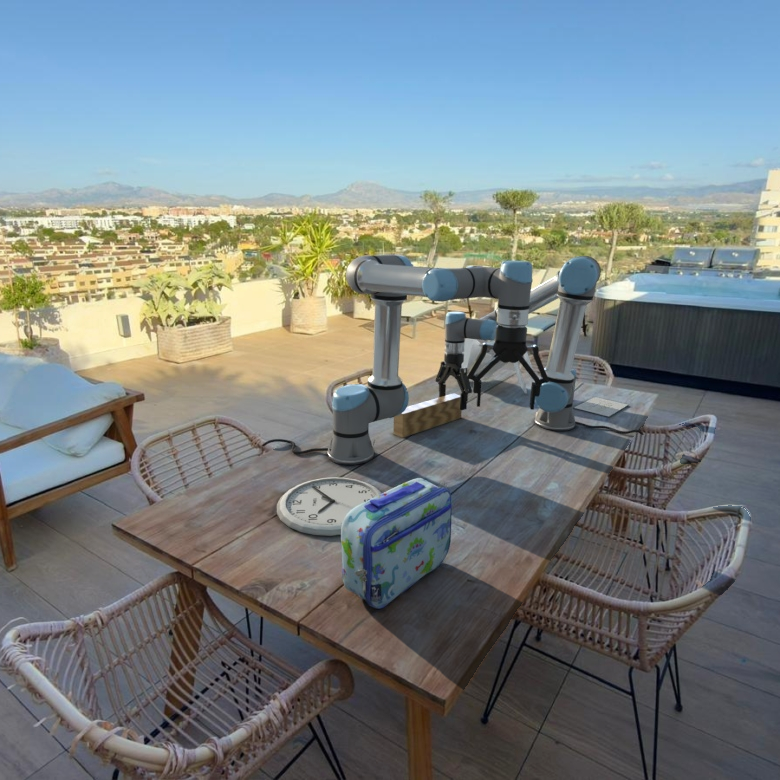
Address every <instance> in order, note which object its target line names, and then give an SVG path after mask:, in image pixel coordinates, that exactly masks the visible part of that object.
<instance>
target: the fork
mask: <svg viewBox="0 0 780 780" xmlns="http://www.w3.org/2000/svg"><path fill="white" fill-rule="evenodd" d="M437 487H439V488H442V487H444V488H447V487H448V484H446V483H445V482H444V483H443V484H441V482H439V484H438V486H437Z"/></svg>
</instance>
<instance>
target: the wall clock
mask: <svg viewBox="0 0 780 780" xmlns="http://www.w3.org/2000/svg"><path fill="white" fill-rule="evenodd" d="M382 493H383V492H382V491H381V490H380V489H379V488H377V487H376V486H374V485H372V484H371V483H369V482H365V481H362V480H359V479H355V478H349V477H338V476H337V477H335V476H333V477H332V476H331V477H322V478H317V479H312V480H307V481H305V482H302V483H299V484H297V485H295V486H293V487H292V488H290V489H288V490H287V491H286V492H285V493H284V494H283V495H281V496H280V498H279V499H278V502H277V503H276V515H277V517H278V518H279V520H280V521H281V522H282V523H283V524H285V525H286V526H287V527H288V528H290V529H293V530H295V531H297V532H299V533H303V534H308V535H312V536H327V537H328V536H329V537H331V536H332V537H333V536H341V528H342V523H343V520H344V518H345V517H346V515H347V514H348V512H349V511H350V510H351V509H353V508H354V507H356V506H358V505H360V504H362V503H364V502H366V501H368V500H370V499H372V498H374V497H376V496H378V495H380V494H382Z"/></svg>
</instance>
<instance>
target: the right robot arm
mask: <svg viewBox="0 0 780 780" xmlns="http://www.w3.org/2000/svg"><path fill="white" fill-rule="evenodd" d="M601 274H602V270H601V266H600V263H599V262H598V261H597V260H596V259H595V258H594V257H592V256H589V255H579V256H574V257H572V258H570V259H569V260H567V261H566V262H565V263H564V264H563V265H562V266H561V269H560V270H558V271H557V272H556V274H555V276H553V277H552V278H550V279H548V280H546V281H545V282H543V283H540V284H539V285H538V286H536V287H534V288H531V293H530V301H529V314H528V315H530V314H532V313H534V312H536V311H537V310H539V309H542V308H543V307H545V306H546V305H549V304H551V303H552V302H554V301H556V300H559V306H558V310H557V314H556V315H557V316H556V320H555V326H554V330H553V334H552V339H551V343H550V348H549V352H548V357H547V361H546V366H545V367H544V369H545V372H546V374H547V377H548V379H549V382H548V383H542V384H541V387H540V395H539V397H537V396H535V405H536V406H537V407H538V410H537V411H536V413H535V417H534V424H535V425H536V426H537V427H539V428H542V429H544V430H549V431H556V432H567V431H572V430H574V429H575V428H576V425H577V426H578V425H579V426H581V427H584V428H588V429H606V430H609V431H612V432H614V433H617V434H622V435H628V434H633V433H638V434H640V435H641V436H644V435H645V434H644V432H643V431H641V430H640V429H631V430H619V429H616V428H614V427H611V426H607V425H591V424H586V423H583V422H579V421H576V418H575V417H576V416H575V413H574V407H573V405H574V397H575V389H576V382H577V379H578V375H577V370H576V369H575V368H573V365H574V361H575V356H576V352H577V347H578V343H579V339H580V335H581V331H582V326H583V323H584V319H585V318H584V317H585V313H586V309H587V305H588V304H590V303H591V302H592V301H593V300H594V296H595V291H596V288H597V283H598V282H599V280H600V278H601ZM497 311H498V308H496V309H495V310H493V311H491V312H490V313H488V314H486V315H484V316H482V317H480V318H469V317H467V316H466V312H464V311H463V312H462V311H449V312H447V313H446V314H445V322H444V355H443V361H440V365H439V369H438V372H437V374H436V377H435V380H434V381H435V382H436V383H438V398H439V397H443V396H446V393H447V392H446V390H447V384H446V382H447V380H448V379H449V378H450V376H451V377H453V378H454V379H455V380H456V383H457V385H458V387H459V389H460V391H461V392H460V394H459V395H460V410H462V411H463V410H464V411H465V410H467V408H468V400H469V394H472V393H473V390H472V389H473V388H472V385H471V382H470V381H471V380H470V379H468V378H467V373H468V372H467V368H462V363H463V362H464V353H463V352H464V343H465V339H466V338H469V339H477V340H478V341H485V342H487V341H495V336H496V326H497V325H499V324H498V323H497ZM459 374H460V375H459ZM540 377H542V376H541V374H540V373H539V376H538V378H540Z"/></svg>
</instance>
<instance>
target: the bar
mask: <svg viewBox="0 0 780 780" xmlns="http://www.w3.org/2000/svg"><path fill="white" fill-rule="evenodd" d="M462 411H463V410H460V394H456V393H454V392H453V393H450V394H447V395H445V396H443V397H439V396H438V397H436V398H432V399H429V400H425V401H422V402H419V403H415V404H412V405H407V408H406V409H405V411H404V412H403V413H401V414H400V415H397V416H395V417H393V431H392V432H393V433H392V434H393V435H395V436H397V437H400V438H406V437H409V436H411V435H415V434H418V433H420V432H424V431H427V430H429V429H433V428H436V427H439V426H441V425H444V424H447V423H450V422H453V421H456V420H459V419H462Z"/></svg>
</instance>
